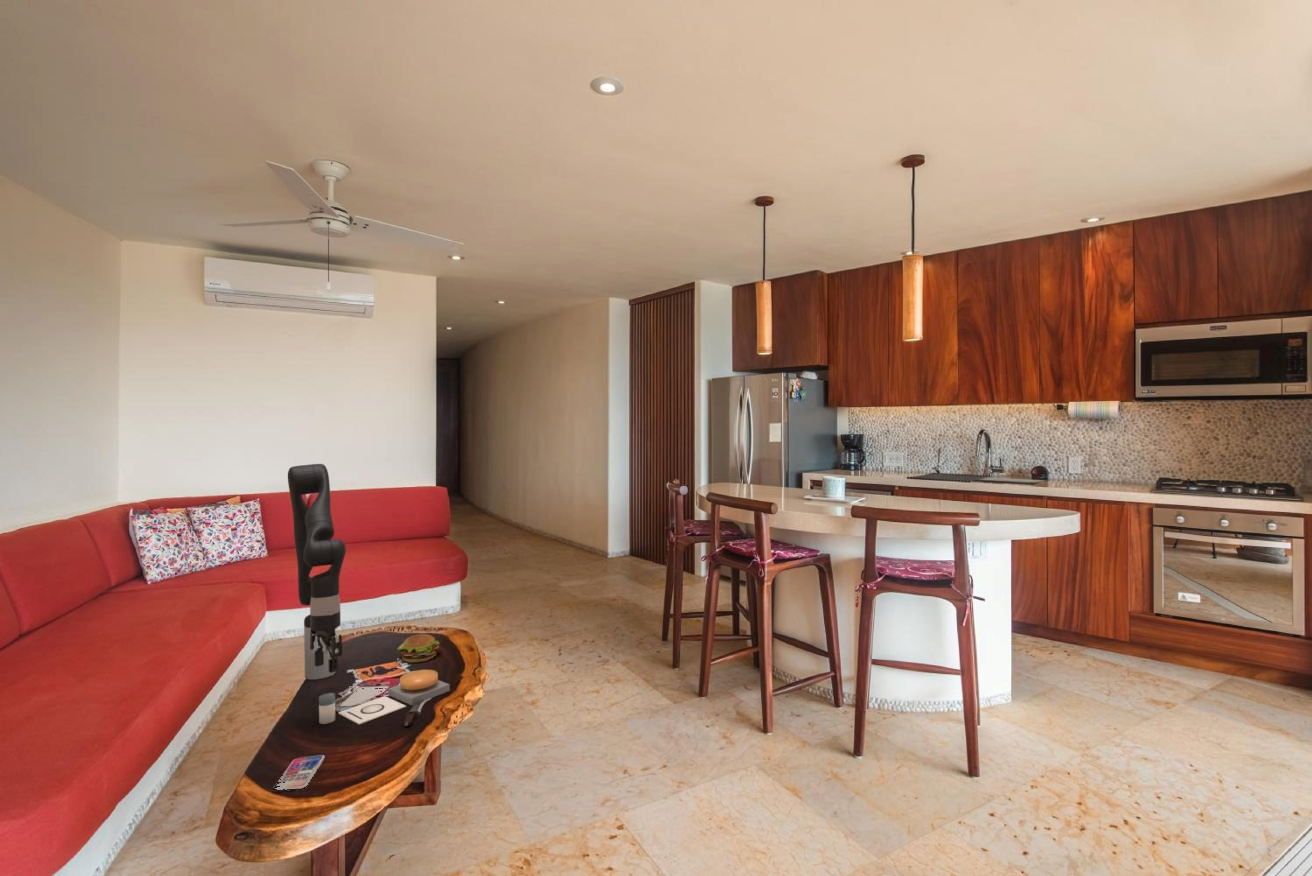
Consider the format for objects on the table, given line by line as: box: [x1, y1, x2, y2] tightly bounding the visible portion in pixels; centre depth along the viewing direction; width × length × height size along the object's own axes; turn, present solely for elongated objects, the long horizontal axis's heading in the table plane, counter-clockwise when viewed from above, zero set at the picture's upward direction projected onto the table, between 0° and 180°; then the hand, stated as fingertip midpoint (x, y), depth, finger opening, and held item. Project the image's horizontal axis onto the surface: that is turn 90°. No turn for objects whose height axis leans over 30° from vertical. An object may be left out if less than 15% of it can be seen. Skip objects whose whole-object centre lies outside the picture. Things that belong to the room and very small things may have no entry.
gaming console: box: [336, 681, 391, 712], centre depth 190 cm, size 22×1×10 cm
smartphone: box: [275, 754, 326, 791], centre depth 145 cm, size 7×1×15 cm
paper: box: [337, 695, 407, 725], centre depth 180 cm, size 12×14×1 cm
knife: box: [403, 697, 433, 727], centre depth 181 cm, size 26×2×5 cm
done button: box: [399, 669, 439, 690], centre depth 192 cm, size 11×11×2 cm
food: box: [397, 633, 441, 663], centre depth 224 cm, size 14×14×8 cm
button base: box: [387, 679, 451, 706], centre depth 192 cm, size 13×13×2 cm
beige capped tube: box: [318, 692, 336, 725], centre depth 173 cm, size 4×4×7 cm
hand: (326, 668), depth 173 cm, fingers open, 8 cm apart
